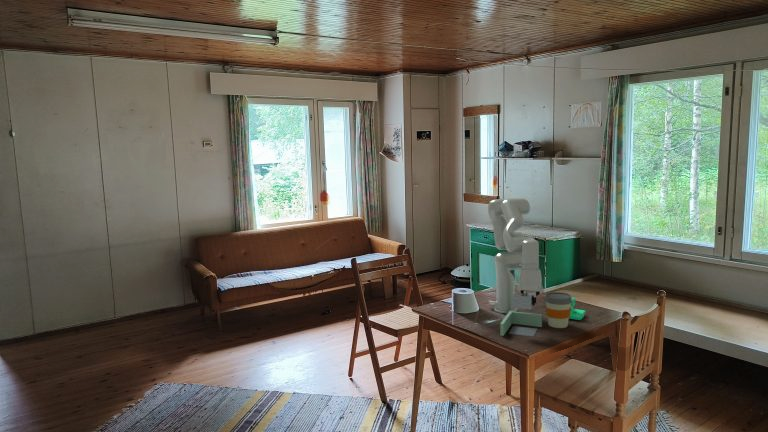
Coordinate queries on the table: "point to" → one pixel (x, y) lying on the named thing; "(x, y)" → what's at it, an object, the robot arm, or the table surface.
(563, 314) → the reusable coffee cup
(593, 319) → the table surface
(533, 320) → the corner walls
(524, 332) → the mat
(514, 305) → the bracket
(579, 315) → the camera mount
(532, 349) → the table surface
